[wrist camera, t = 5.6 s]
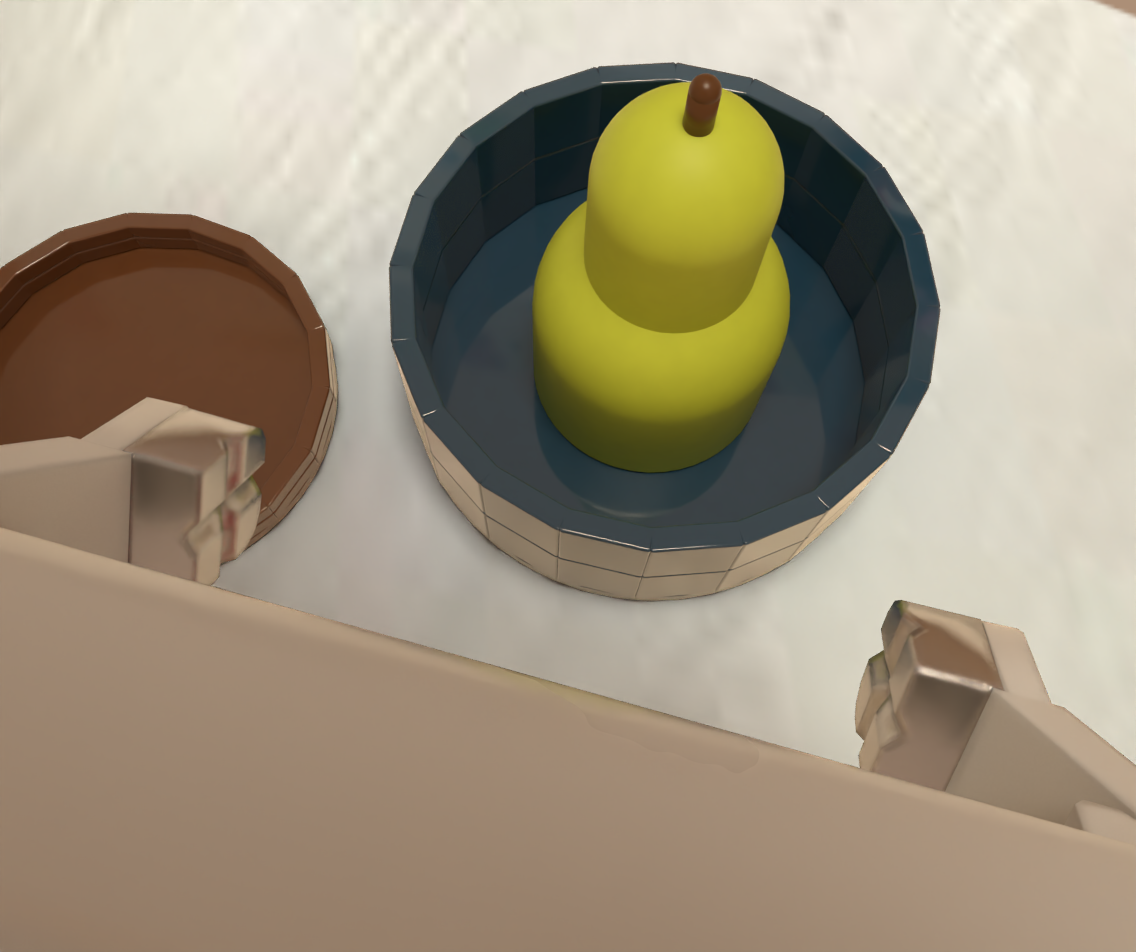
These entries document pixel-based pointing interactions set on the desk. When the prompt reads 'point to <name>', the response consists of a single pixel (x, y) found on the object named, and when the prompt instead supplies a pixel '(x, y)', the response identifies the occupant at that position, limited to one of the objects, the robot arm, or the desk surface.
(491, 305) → the pot
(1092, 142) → the desk surface
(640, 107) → the pear
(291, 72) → the desk surface
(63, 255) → the plate
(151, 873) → the robot arm
